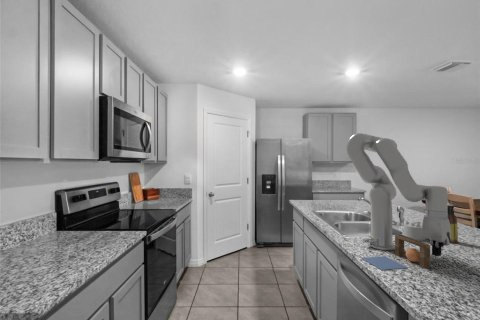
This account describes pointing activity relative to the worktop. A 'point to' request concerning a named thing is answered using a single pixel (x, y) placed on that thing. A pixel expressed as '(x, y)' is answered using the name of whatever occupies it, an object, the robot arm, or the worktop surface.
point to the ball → (413, 255)
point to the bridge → (423, 246)
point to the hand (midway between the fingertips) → (436, 255)
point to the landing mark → (384, 263)
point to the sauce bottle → (452, 224)
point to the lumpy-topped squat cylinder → (413, 230)
